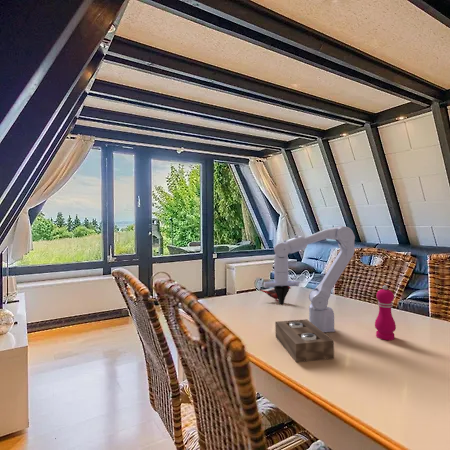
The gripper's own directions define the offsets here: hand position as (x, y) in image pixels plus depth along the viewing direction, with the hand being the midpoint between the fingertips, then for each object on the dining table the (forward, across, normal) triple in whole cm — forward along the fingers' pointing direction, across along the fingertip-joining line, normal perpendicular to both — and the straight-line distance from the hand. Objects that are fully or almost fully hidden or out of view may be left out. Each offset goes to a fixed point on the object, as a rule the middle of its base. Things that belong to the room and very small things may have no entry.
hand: (281, 303), depth 136 cm
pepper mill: (+10, -36, +17) cm, 41 cm away
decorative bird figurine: (+11, -10, -40) cm, 42 cm away
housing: (+10, -2, +19) cm, 22 cm away
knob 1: (+10, -2, +13) cm, 17 cm away
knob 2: (+10, -2, +25) cm, 27 cm away
